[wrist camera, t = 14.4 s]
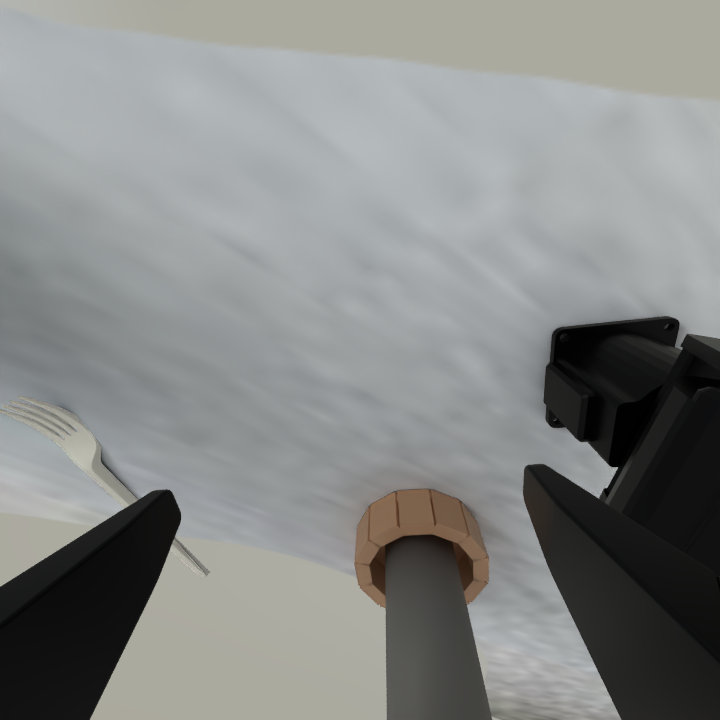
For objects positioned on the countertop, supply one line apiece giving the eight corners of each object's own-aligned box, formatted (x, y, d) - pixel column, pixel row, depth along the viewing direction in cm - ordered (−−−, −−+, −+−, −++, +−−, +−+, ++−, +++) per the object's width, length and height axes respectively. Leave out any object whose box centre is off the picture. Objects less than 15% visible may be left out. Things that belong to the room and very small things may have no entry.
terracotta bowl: (476, 485, 24) (489, 519, 22) (477, 574, 28) (488, 613, 25) (351, 493, 25) (347, 527, 23) (366, 578, 29) (364, 616, 26)
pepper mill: (463, 530, 25) (540, 817, 13) (436, 575, 27) (481, 862, 15) (399, 511, 25) (415, 786, 13) (375, 557, 27) (370, 836, 15)
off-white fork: (194, 574, 31) (184, 595, 29) (17, 398, 24) (-11, 412, 23) (224, 563, 30) (214, 585, 28) (49, 379, 24) (23, 393, 22)
